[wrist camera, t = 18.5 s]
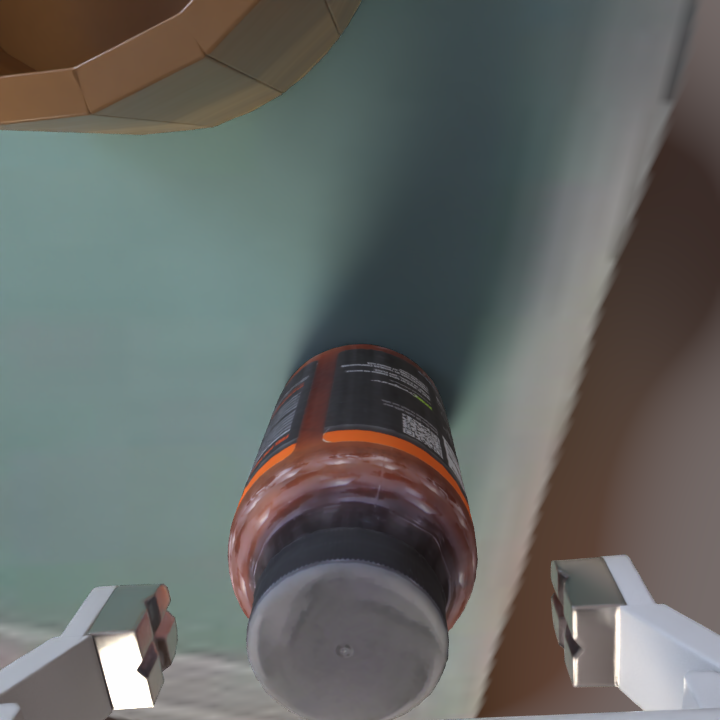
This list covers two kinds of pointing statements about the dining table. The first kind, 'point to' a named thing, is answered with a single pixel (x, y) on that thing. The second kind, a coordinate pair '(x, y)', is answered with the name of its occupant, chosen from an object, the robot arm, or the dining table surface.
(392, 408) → the supplement bottle
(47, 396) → the dining table surface
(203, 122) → the round wooden box
